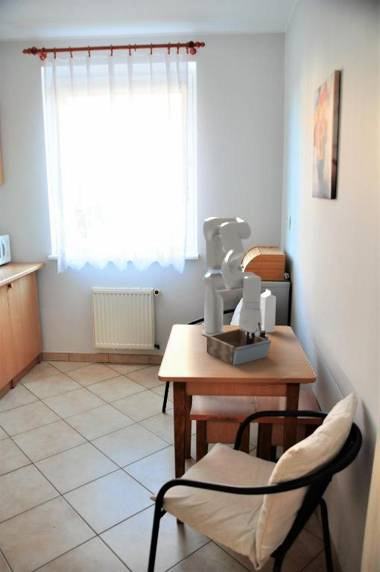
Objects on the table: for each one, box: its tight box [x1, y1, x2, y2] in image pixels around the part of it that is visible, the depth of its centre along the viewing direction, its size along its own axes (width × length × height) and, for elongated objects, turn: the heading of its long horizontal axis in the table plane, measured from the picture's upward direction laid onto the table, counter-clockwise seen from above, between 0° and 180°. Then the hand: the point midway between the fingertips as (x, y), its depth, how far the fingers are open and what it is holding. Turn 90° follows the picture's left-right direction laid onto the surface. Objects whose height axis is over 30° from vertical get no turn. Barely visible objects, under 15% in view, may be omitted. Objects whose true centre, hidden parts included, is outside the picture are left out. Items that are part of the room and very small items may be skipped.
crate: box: [206, 328, 266, 365], centre depth 207 cm, size 18×19×8 cm
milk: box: [260, 288, 277, 334], centre depth 240 cm, size 6×6×22 cm
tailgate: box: [232, 339, 272, 366], centre depth 198 cm, size 1×19×8 cm, turn 124°
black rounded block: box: [259, 330, 269, 340], centre depth 228 cm, size 12×7×5 cm, turn 171°
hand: (250, 345), depth 199 cm, fingers closed
